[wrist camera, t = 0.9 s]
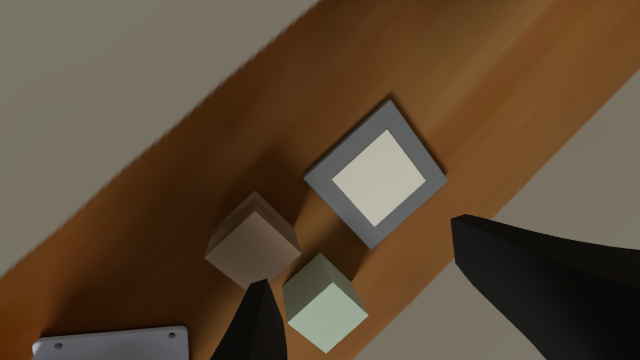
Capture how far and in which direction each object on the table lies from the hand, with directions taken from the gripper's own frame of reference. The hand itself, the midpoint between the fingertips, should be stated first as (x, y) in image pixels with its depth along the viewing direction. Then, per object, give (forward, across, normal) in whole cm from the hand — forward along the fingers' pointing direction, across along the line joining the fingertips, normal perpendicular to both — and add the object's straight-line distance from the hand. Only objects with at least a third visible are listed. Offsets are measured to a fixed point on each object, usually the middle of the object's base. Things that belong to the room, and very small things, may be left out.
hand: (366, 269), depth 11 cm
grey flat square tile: (+11, -4, +1) cm, 12 cm away
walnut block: (+11, +5, +2) cm, 12 cm away
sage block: (+11, +2, +8) cm, 14 cm away
